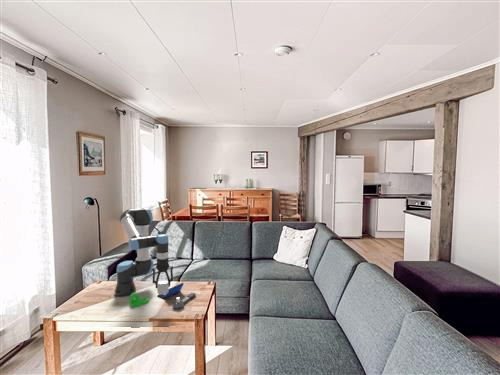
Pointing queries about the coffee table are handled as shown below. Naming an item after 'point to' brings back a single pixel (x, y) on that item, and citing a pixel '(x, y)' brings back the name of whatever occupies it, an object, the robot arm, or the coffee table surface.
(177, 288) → the handheld game console
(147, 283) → the coffee table surface
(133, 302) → the mechanical part
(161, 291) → the grey metal block
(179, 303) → the ladle
